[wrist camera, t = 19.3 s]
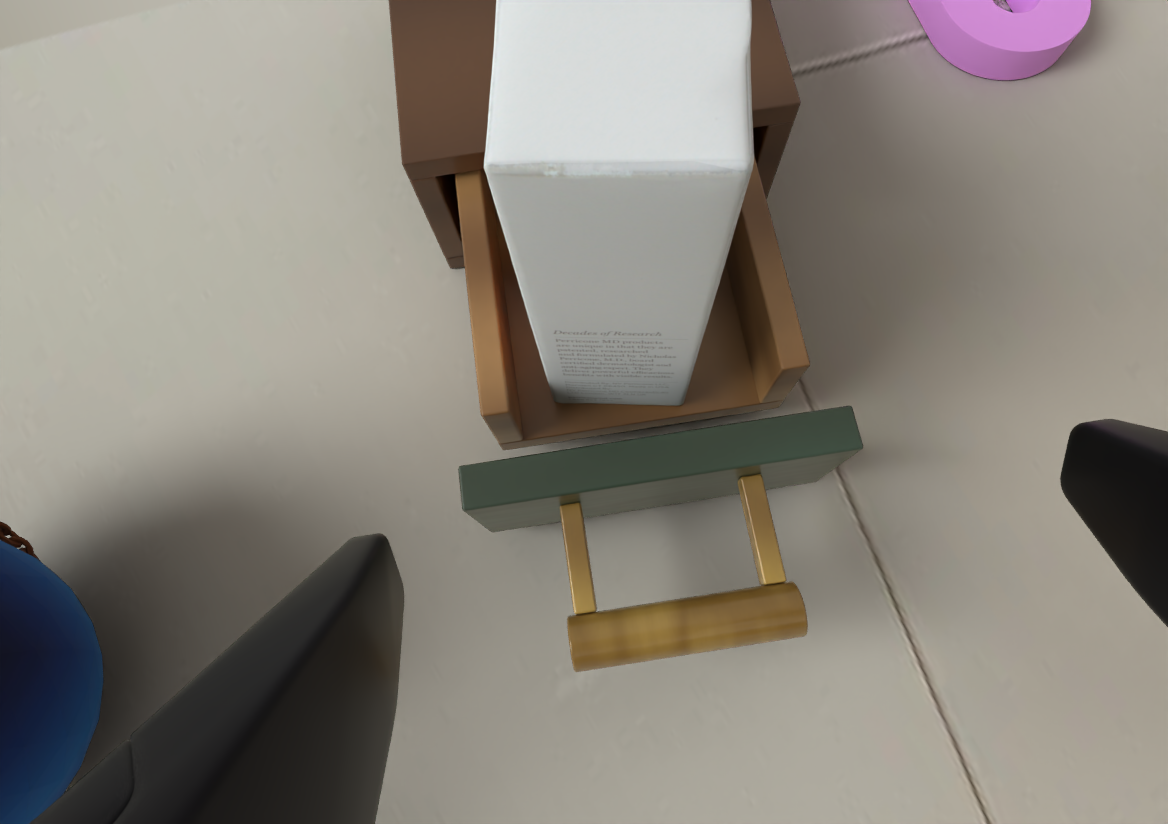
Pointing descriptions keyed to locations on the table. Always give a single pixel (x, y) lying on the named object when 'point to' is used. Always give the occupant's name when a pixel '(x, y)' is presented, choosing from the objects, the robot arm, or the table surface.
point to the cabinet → (462, 90)
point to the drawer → (651, 440)
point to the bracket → (1002, 33)
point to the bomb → (42, 682)
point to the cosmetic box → (619, 181)
